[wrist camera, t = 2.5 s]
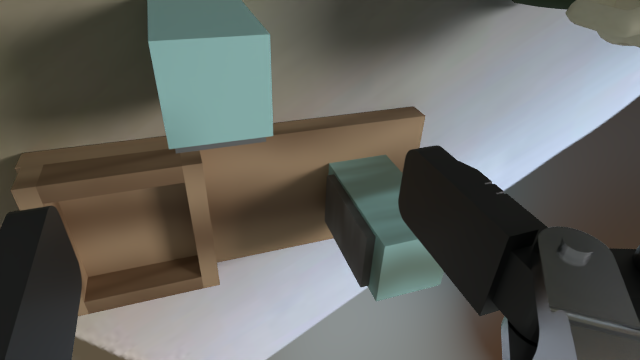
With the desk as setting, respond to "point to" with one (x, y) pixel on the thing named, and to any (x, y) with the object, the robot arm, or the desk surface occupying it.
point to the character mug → (601, 17)
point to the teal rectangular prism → (211, 73)
